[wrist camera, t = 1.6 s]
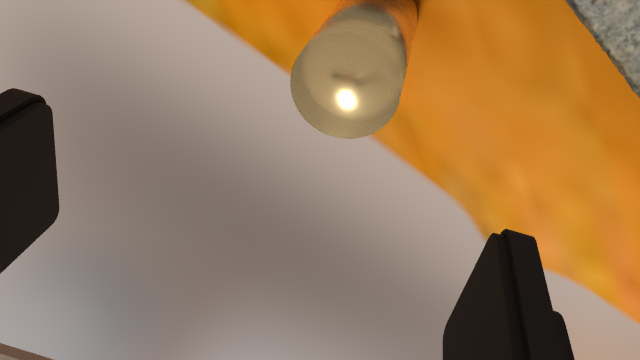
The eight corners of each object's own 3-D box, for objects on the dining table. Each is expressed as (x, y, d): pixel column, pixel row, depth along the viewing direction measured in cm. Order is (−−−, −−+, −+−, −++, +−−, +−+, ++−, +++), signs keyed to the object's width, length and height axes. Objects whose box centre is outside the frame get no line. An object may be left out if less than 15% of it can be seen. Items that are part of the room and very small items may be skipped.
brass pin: (428, -12, 24) (415, 50, 16) (404, 64, 26) (383, 151, 18) (349, -33, 24) (301, 19, 16) (332, 43, 26) (282, 121, 18)
